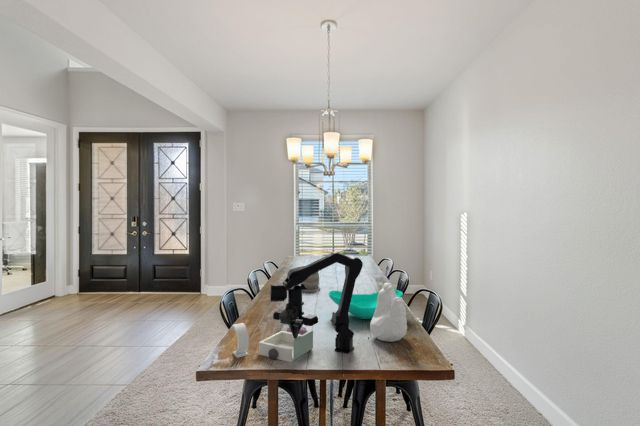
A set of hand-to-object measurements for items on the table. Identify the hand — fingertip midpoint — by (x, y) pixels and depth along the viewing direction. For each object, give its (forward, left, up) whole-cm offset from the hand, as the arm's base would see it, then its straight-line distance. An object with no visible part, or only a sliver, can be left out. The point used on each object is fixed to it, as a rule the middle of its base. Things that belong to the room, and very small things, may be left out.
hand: (295, 338), depth 162 cm
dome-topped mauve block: (+10, -16, -6) cm, 20 cm away
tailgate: (-3, 0, -6) cm, 7 cm away
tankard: (+52, -100, -7) cm, 113 cm away
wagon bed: (+5, 0, -6) cm, 8 cm away
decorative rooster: (-29, -32, -7) cm, 44 cm away
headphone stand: (+19, +12, -7) cm, 23 cm away
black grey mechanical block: (+27, -34, -7) cm, 44 cm away
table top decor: (-5, -59, -7) cm, 60 cm away
